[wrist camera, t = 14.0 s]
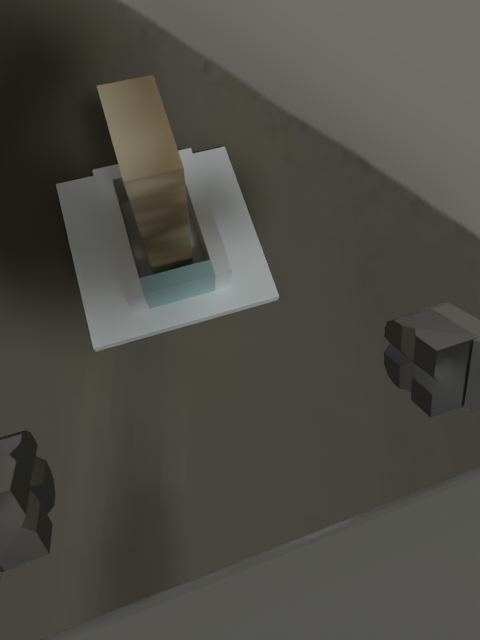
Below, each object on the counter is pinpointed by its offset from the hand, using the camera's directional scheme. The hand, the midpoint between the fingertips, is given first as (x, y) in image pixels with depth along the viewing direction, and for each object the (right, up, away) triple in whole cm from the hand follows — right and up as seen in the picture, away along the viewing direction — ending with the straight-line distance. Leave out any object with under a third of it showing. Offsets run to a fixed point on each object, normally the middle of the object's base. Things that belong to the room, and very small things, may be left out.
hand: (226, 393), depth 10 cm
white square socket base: (-6, +8, +24) cm, 26 cm away
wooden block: (-6, +8, +24) cm, 25 cm away
